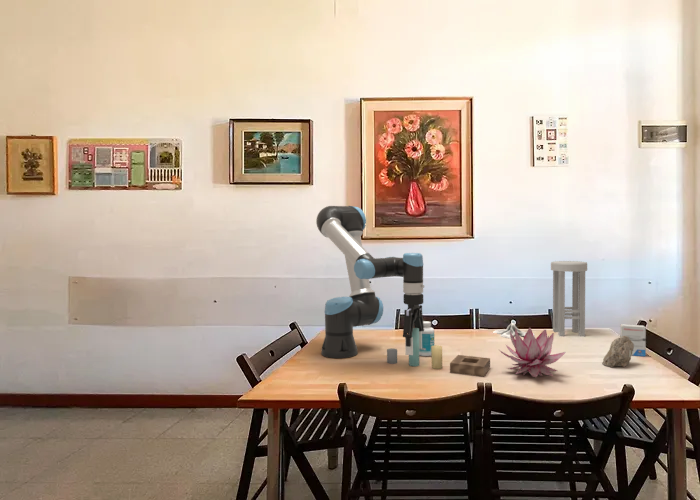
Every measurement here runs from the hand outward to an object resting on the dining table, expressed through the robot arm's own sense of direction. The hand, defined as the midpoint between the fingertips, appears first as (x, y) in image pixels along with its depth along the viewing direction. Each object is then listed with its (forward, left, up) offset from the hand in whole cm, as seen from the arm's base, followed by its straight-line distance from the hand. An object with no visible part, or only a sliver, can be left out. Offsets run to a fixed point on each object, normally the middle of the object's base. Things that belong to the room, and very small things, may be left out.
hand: (413, 351), depth 180 cm
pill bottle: (-1, +16, -6) cm, 17 cm away
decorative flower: (+42, +7, -6) cm, 42 cm away
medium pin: (+9, 0, -5) cm, 10 cm away
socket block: (+21, +2, -5) cm, 22 cm away
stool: (+51, +81, -5) cm, 96 cm away
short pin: (-9, 0, -5) cm, 10 cm away
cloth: (+27, +70, -6) cm, 75 cm away
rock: (+70, +31, -6) cm, 77 cm away
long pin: (0, 0, -5) cm, 5 cm away
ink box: (+76, +50, -6) cm, 91 cm away
